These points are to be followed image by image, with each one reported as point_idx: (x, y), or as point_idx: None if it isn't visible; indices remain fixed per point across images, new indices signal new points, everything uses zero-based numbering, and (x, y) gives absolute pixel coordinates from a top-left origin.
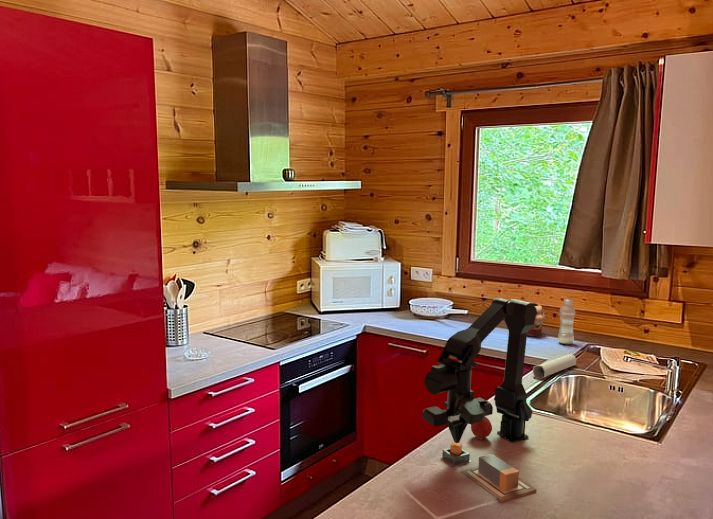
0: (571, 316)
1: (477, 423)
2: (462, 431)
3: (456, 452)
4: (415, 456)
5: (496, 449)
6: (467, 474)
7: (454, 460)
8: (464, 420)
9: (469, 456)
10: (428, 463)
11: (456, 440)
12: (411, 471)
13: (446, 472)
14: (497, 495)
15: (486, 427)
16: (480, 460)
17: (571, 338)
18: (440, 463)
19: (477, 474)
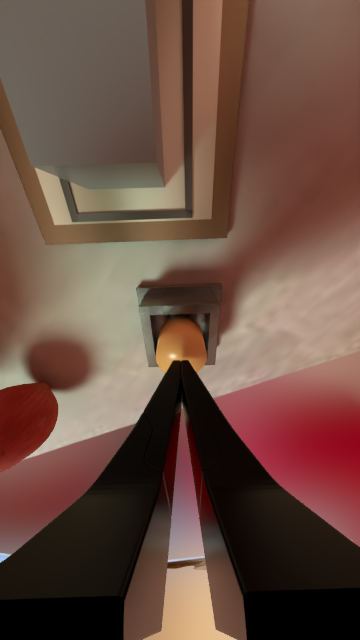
0: None
1: (16, 441)
2: (157, 413)
3: (193, 326)
4: (264, 374)
5: (10, 330)
6: (222, 193)
7: (214, 299)
8: (136, 604)
9: (141, 301)
10: (265, 336)
11: (193, 369)
12: (346, 316)
13: (263, 266)
14: None
15: None
16: (157, 141)
17: None
18: (234, 323)
19: (184, 159)
